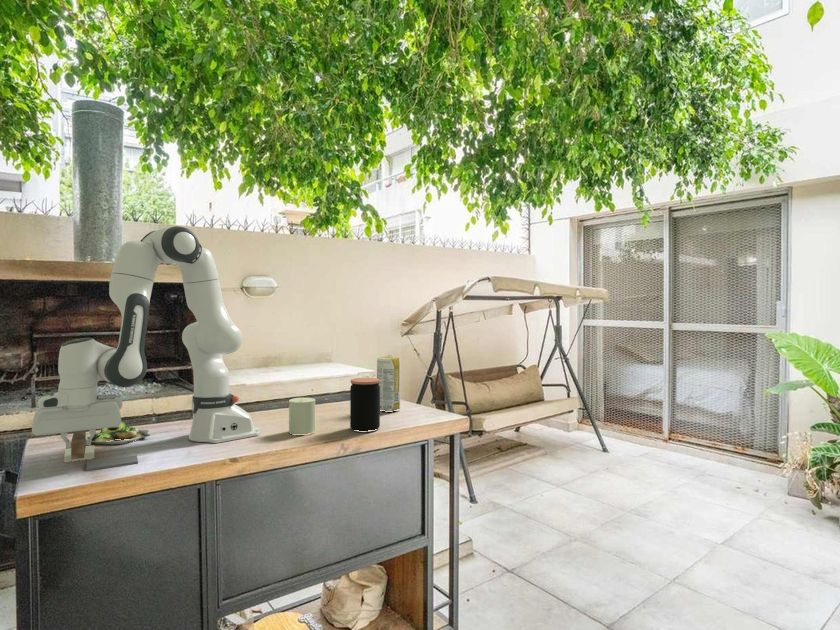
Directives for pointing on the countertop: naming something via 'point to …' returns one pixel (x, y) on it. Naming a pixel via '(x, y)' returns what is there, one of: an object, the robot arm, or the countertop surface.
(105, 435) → the plate of avocado toast
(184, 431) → the countertop surface
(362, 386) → the coffee jar
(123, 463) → the pad
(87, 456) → the tile
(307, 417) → the can
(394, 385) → the juice carton
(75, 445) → the brown long block
